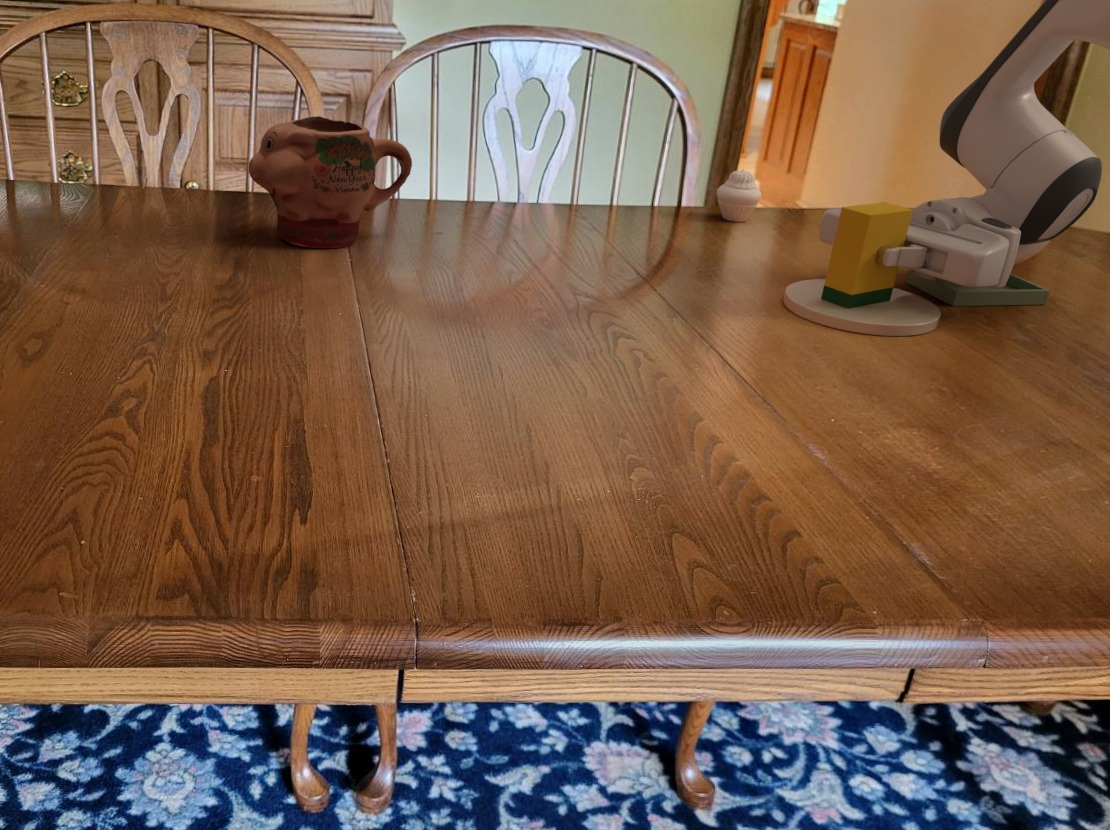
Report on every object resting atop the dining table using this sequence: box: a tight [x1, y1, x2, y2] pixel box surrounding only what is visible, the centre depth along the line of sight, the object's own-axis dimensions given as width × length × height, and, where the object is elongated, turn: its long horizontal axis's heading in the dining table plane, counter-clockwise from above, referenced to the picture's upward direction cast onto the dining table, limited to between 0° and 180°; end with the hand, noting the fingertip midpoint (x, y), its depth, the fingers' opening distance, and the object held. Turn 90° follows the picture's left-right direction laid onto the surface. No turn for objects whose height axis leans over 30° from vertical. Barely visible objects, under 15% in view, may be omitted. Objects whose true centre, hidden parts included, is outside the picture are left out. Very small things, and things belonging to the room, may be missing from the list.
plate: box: [782, 278, 942, 337], centre depth 120 cm, size 16×16×1 cm
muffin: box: [716, 168, 762, 223], centre depth 155 cm, size 6×6×7 cm
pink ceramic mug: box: [248, 115, 413, 249], centre depth 133 cm, size 20×12×14 cm, turn 112°
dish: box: [905, 269, 1051, 307], centre depth 128 cm, size 12×9×2 cm
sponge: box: [821, 201, 913, 309], centre depth 117 cm, size 7×4×10 cm, turn 122°
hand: (862, 251), depth 117 cm, fingers closed on sponge, 3 cm apart
